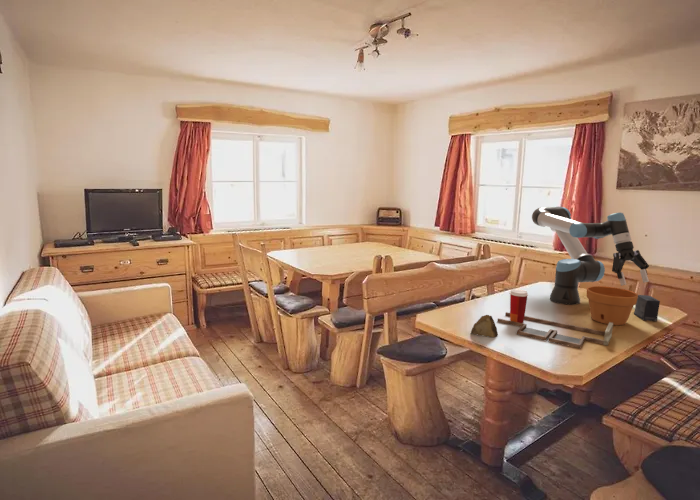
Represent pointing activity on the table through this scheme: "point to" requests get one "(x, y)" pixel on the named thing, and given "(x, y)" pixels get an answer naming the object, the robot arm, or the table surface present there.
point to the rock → (485, 327)
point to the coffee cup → (518, 305)
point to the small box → (647, 308)
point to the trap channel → (557, 337)
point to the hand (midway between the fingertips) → (635, 283)
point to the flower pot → (610, 304)
